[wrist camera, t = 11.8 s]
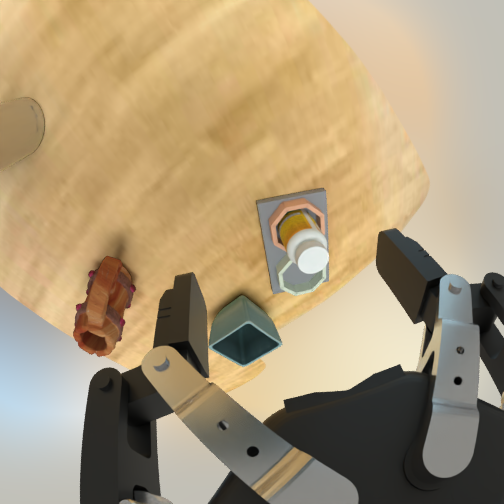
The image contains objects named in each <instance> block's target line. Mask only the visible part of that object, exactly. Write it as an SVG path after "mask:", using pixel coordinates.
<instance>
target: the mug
mask: <svg viewBox="0 0 504 504" xmlns="http://www.w3.org/2000/svg"><path fill="white" fill-rule="evenodd" d="M88 275H89V277H90V280H89V282H88V289H87V291H86V293H87V295H88V296H87V298H86V301H85V302H84V303H82V304H77V305H76V310H77V313H76V316H75V329H74V332H73V336H74V338H75V340H76V341H77V342H78V346H79V347H80V348H81V349H83V350H84V351H86V352H88V353H89V354H91V355H92V354H94V353H96V354H97V356H98V357H100V356H106V355H109V354H110V353H111V352H112V350H113V349H114V348H115V345H116V342H118V341H121V339H122V337H121V335H122V331H123V326H124V324H125V320H124V319H123V315H124V310H125V308H130V306H131V301H132V297H133V292H134V291H135V290H136V287H135V286H134V285H132V281H131V276H130V274H129V273H128V272H127V270H126V269H125V268H124V267H123V266H122V263H121V260H118V259H115V258H112V257H109V256H106V257H105V258H104V260H103V261H102V263H101V265H100V267H99V269H97V270H95V271H94V270H93V271H90V272H89V274H88Z"/></svg>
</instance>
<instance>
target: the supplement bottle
mask: <svg viewBox="0 0 504 504" xmlns="http://www.w3.org/2000/svg"><path fill="white" fill-rule="evenodd" d="M277 228H278V232H279V235H280V237H281V240H282V242H283V245H284V247H285V250H286V252H287V255H288V257H289V259H290V260H291V261H292V262H293V263H295V264H297V265H298V267H299V269H300V270H301V271H302V272H304V273H307V274H313V273H317V272H319V271H321V270H322V269H323V268H324V267H325V266H326V265H327V263H328V261H329V254H328V251H327V241H326V238H325V236H324V234H323V233H322V231H321V230H320V228H319V227H318V225H317V224H316V222H315V220H314V219H313V217H312V216H311V215H310V213H309V212H308V211H306V210H304V209H297V210H292V211H287V213H286V214H285V215H284V216H283V218H282V219H281V220H280V221H279V223H278V224H277Z"/></svg>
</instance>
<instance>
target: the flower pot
mask: <svg viewBox="0 0 504 504" xmlns="http://www.w3.org/2000/svg"><path fill="white" fill-rule="evenodd" d="M281 345H282V341H281V339H280V336H279V334H278V332H277V329H276V327H275V325H274V323H273V321H272V320H271V318H270V317H269V316H268V315H267V314H266V313H265V312H264V311H263V310H262V309H261V308H259V307H258V306H257V305H255V304H254V303H253V302H252V301H250V300H249V299H248V298H246V297H245V296H243V295H241V296H239V297H238V298H237V299H235V300H234V301H233V302H231V303H230V304H228V305H227V306H226V307H224V308H223V309H222V310H221V311H220V312H219V313H218V315H217V316H216V317H215V319H214V321H213V323H212V327H211V332H210V339H209V346H208V347H209V349H211V350H213V351H214V352H216V353H218V354H220V355H222V356H223V357H225V358H227V359H229V360H231V361H232V362H234V363H236V364H238V365H240V366H242V367H245V366H247V365H249V364H251V363H253V362H254V361H256V360H258V359H259V358H261V357H263V356H264V355H266V354H268V353H270V352H272V351H273V350H275V349H277V348H278V347H280V346H281Z"/></svg>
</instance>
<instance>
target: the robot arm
mask: <svg viewBox="0 0 504 504" xmlns="http://www.w3.org/2000/svg"><path fill="white" fill-rule="evenodd" d="M43 134H44V116H43V113H42V110H41V108H40V106H39V105H38V104H37V103H36V102H35V101H34V100H32V99H30V98H19V99H15V100H11V101H6V102H3V103H0V172H2V171H4V170H5V169H7V168H8V167H10V166H12V165H13V164H15V163H17V162H18V161H20V160H22V159H23V158H25V157H27V156H28V155H30V154H32V153H33V152H34V151H35V150H36V149H37V148H38V146H39V144H40V142H41V140H42V137H43ZM376 266H377V270H378V272H379V274H380V275H381V277H382V278H383V279H384V281H385V282H386V284H387V285H388V286H389V287H390V289H391V291H392V292H393V293H394V295H395V296H396V298H397V299H398V301H399V302H400V304H401V305H402V307H403V308H404V310H405V311H406V313H407V314H408V316H409V317H410V319H411V320H412V322H413V323H414V324H417V323H419V322H422V321H424V322H425V327H424V331H423V338H422V345H421V351H420V357H419V363H418V366H417V369H416V372H415V371H403V370H402V368H401V366H400V364H399V365H397V366H394V367H392V368H389V369H386V370H384V371H381V372H378V373H375V374H373V375H372V376H370V377H369V378H367V379H366V380H364V381H363V382H361V383H359V384H358V385H356V386H354V387H353V388H351V389H349V390H346V391H335V392H314V393H310V394H307V395H303V396H298V397H295V398H290V399H286V400H284V404H285V408H283V409H281V410H279V411H277V412H276V413H274V414H272V415H271V416H270V417H268V418H267V419H266V420H265V421H264V422H263V423H261V422H260V421H259V420H257V419H256V418H255V417H254V416H252V415H251V414H250V413H249V412H248V411H246V410H245V409H244V408H243V407H241V406H240V405H239V404H238V403H237V402H236V401H234V400H233V399H232V398H231V397H230V396H229V395H228V394H226V393H225V392H224V391H223V390H222V389H221V388H220V387H218V386H217V385H216V384H214V383H209V382H208V381H207V380H206V379H205V378H209V365H208V338H207V310H206V305H205V301H204V298H203V295H202V293H201V290H200V287H199V285H198V282H197V279H196V277H195V274H194V273H193V272H191V273H186V274H182V275H177V276H175V280H174V288H173V289H170V290H166V291H165V293H164V294H163V296H162V297H161V299H160V303H159V309H158V310H159V311H158V316H157V318H158V319H157V322H156V329H155V336H154V344H153V349H152V350H150V351H149V352H148V353H147V354H146V355H145V357H144V358H143V360H142V365H140V366H138V367H136V368H134V369H132V370H129V371H127V372H124V373H122V374H121V373H120V372H119V371H118V370H116V369H114V368H104V369H102V370H100V371H98V372H97V373H96V374H95V375H94V376H93V378H92V380H91V382H90V385H89V392H88V398H87V405H86V413H85V421H84V430H83V440H82V453H81V473H80V504H173V503H172V502H171V501H169V500H168V499H166V498H163V497H161V494H160V484H159V470H158V454H157V431H156V430H157V429H156V419H158V418H161V417H163V416H166V415H168V414H171V413H173V412H175V413H176V415H177V416H178V417H179V418H180V419H181V420H182V422H183V423H184V424H185V425H186V426H187V427H188V428H189V429H190V430H191V431H192V432H193V433H194V434H195V436H196V437H197V438H198V439H199V440H200V441H201V442H202V443H203V444H204V445H205V446H206V447H207V448H208V449H209V450H210V451H211V452H212V453H213V454H214V455H215V456H216V457H217V458H218V459H219V460H220V461H221V462H222V463H224V464H225V465H226V466H227V467H228V468H229V469H230V470H231V471H230V472H229V474H228V475H227V477H226V478H225V480H224V481H223V483H222V484H221V486H220V487H219V488H218V490H217V491H216V493H215V494H214V496H213V497H212V499H211V500H210V501H209V503H208V504H504V338H503V336H502V335H501V333H500V332H499V330H498V329H497V327H496V326H495V324H494V322H495V320H496V318H497V316H498V318H499V319H500V321H501V322H502V324H503V325H504V277H503V276H502V275H500V274H498V273H493V272H492V273H488V274H486V275H485V277H484V280H483V282H482V283H479V284H469V283H468V282H467V281H466V280H465V279H464V278H462V277H461V276H458V275H454V274H449V275H448V274H447V273H446V272H445V271H444V270H443V269H442V268H441V267H440V265H439V264H438V263H437V262H436V261H435V260H434V259H433V258H432V257H431V256H429V254H428V253H427V252H426V251H425V250H424V249H423V248H422V247H421V246H420V245H419V244H418V243H417V242H416V241H414V240H412V239H410V238H409V237H404V235H402V233H401V232H400V231H399V230H397V229H396V228H393V229H389V230H385V231H381V232H379V235H378V244H377V255H376ZM480 357H481V359H482V361H483V362H484V364H485V366H486V368H487V369H488V371H489V373H490V375H491V377H492V379H493V381H494V383H495V385H496V386H497V389H498V391H499V392H500V394H501V404H502V405H501V406H500V408H498V407H496V406H494V405H491V404H489V403H487V402H485V401H483V400H480V399H478V398H477V395H478V383H479V362H480Z"/></svg>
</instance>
